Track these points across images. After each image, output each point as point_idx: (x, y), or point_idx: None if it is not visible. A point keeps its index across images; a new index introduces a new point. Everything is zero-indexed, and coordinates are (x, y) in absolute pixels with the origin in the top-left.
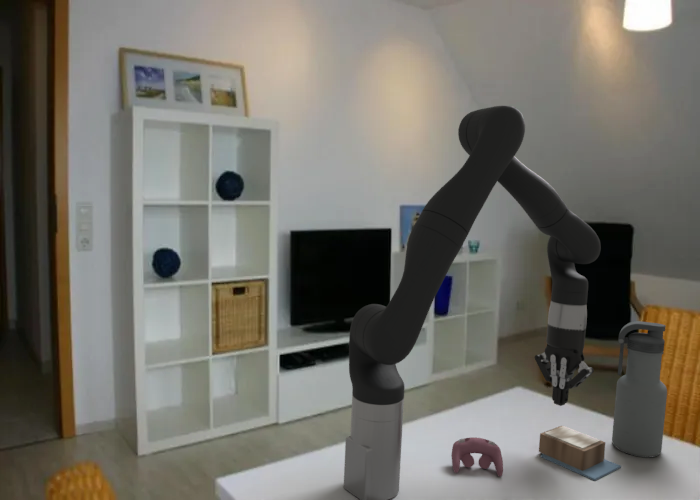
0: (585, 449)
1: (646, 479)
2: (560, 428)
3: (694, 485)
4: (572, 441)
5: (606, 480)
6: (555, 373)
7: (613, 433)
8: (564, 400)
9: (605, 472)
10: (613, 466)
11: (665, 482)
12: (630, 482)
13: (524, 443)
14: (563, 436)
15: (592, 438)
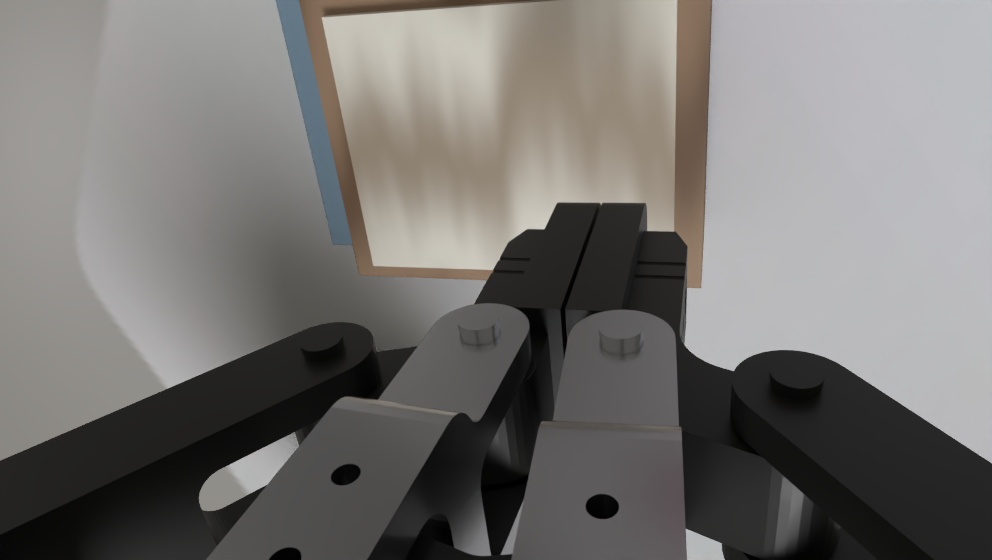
0: (320, 39)
1: (212, 224)
2: (654, 210)
3: (127, 336)
4: (435, 57)
5: (257, 23)
6: (551, 448)
7: None
8: (504, 255)
9: (303, 91)
10: (341, 202)
11: (171, 267)
12: (207, 123)
13: (906, 3)
14: (536, 82)
15: (414, 243)
